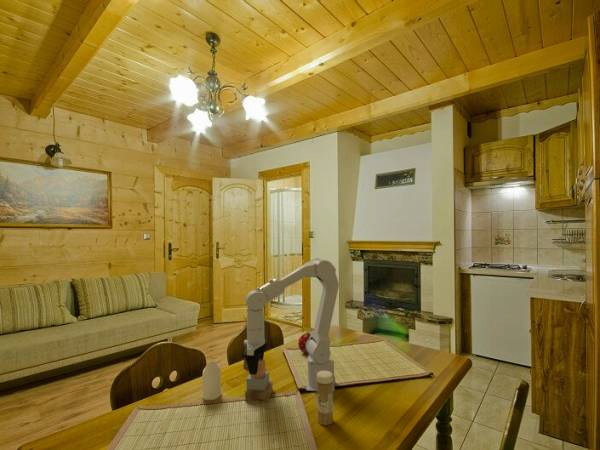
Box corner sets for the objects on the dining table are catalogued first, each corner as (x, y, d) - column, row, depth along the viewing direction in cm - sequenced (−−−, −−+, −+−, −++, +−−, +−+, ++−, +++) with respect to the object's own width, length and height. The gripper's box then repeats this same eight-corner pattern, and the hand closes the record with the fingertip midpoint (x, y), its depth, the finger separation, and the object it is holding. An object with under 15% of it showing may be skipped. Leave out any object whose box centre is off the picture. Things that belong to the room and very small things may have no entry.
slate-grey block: (269, 381, 107) (268, 371, 107) (264, 390, 101) (264, 379, 101) (252, 380, 108) (251, 370, 108) (246, 389, 102) (246, 378, 102)
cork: (255, 370, 123) (254, 342, 123) (240, 369, 124) (240, 341, 124) (260, 363, 129) (259, 337, 129) (246, 363, 130) (246, 336, 130)
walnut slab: (272, 390, 107) (272, 380, 107) (268, 402, 100) (268, 391, 100) (251, 390, 108) (251, 380, 108) (245, 402, 101) (245, 391, 101)
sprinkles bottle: (314, 421, 89) (313, 374, 89) (323, 414, 92) (322, 368, 92) (327, 428, 86) (326, 378, 86) (336, 420, 89) (335, 372, 90)
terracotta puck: (267, 372, 106) (266, 359, 106) (263, 379, 101) (262, 365, 101) (252, 371, 107) (252, 358, 107) (248, 378, 102) (248, 364, 102)
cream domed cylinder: (218, 355, 108) (222, 360, 103) (219, 390, 108) (223, 397, 103) (200, 358, 105) (203, 364, 100) (201, 394, 105) (204, 402, 100)
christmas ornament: (318, 357, 134) (317, 333, 135) (298, 357, 134) (297, 333, 135) (317, 349, 143) (317, 327, 143) (298, 349, 143) (298, 327, 143)
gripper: (249, 321, 112) (250, 359, 111) (237, 334, 97) (237, 378, 97) (269, 321, 111) (269, 360, 110) (259, 334, 96) (260, 379, 96)
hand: (256, 368), depth 104 cm, fingers open, 7 cm apart
